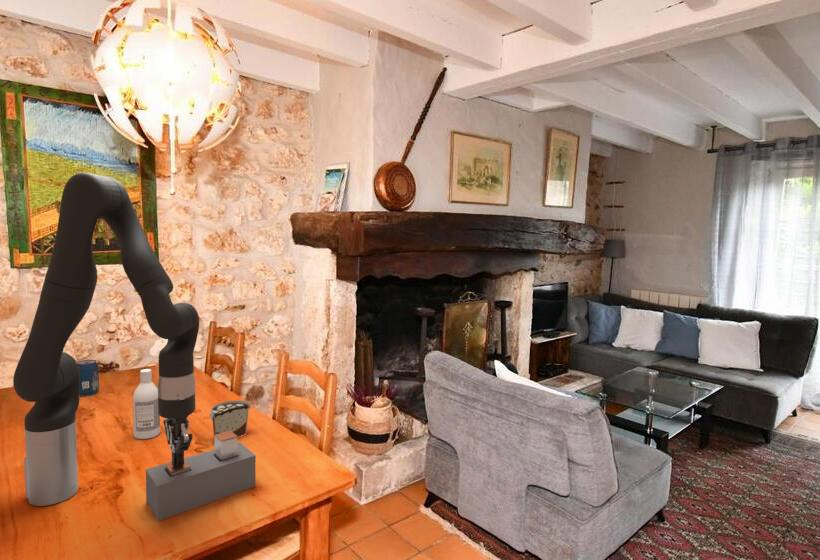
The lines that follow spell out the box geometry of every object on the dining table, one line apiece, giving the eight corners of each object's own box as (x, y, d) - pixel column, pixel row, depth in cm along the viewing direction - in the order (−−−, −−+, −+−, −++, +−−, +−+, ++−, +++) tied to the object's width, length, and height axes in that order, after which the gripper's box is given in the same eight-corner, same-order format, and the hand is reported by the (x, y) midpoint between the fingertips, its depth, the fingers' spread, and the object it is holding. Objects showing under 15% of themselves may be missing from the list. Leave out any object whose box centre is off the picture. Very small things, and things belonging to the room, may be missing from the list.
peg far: (220, 470, 112) (220, 440, 111) (214, 464, 115) (214, 434, 114) (237, 465, 115) (237, 436, 114) (230, 459, 118) (230, 430, 117)
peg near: (171, 504, 105) (171, 472, 104) (166, 496, 108) (165, 465, 107) (190, 497, 108) (190, 466, 107) (184, 490, 111) (184, 459, 110)
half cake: (239, 427, 149) (239, 396, 148) (250, 433, 145) (250, 402, 144) (201, 439, 140) (201, 407, 139) (212, 446, 136) (212, 413, 135)
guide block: (157, 521, 101) (157, 486, 100) (146, 502, 108) (145, 469, 107) (255, 486, 116) (255, 455, 115) (240, 471, 123) (240, 442, 122)
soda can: (78, 391, 173) (77, 359, 172) (100, 389, 176) (99, 358, 175) (74, 398, 167) (73, 365, 166) (97, 395, 170) (96, 363, 169)
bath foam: (163, 435, 141) (162, 370, 139) (138, 442, 136) (136, 375, 134) (155, 427, 146) (154, 365, 144) (130, 434, 141) (129, 369, 139)
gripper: (150, 387, 108) (151, 459, 110) (167, 405, 98) (169, 483, 100) (184, 381, 113) (185, 450, 115) (204, 397, 103) (205, 472, 105)
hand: (178, 465), depth 107 cm, fingers closed
